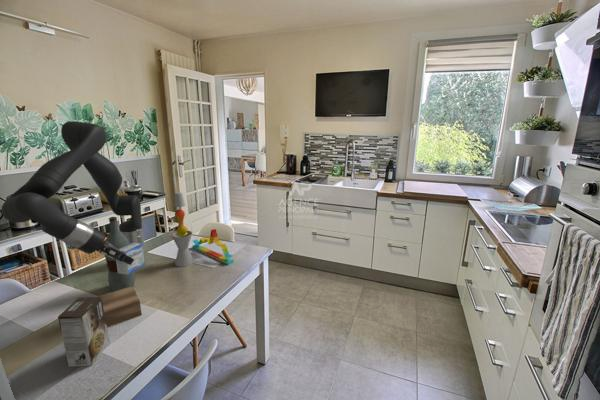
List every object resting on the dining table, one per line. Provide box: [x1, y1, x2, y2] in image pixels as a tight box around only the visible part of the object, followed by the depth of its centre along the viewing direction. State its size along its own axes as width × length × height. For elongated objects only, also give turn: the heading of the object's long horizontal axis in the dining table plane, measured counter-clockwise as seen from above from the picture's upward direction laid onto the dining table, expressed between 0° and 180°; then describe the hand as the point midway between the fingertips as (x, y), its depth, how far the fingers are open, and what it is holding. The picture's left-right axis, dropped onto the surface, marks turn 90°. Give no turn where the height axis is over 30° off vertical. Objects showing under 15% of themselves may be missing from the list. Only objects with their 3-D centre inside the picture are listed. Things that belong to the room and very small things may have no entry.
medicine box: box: [116, 243, 145, 275], centre depth 102 cm, size 8×4×9 cm, turn 167°
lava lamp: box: [171, 191, 195, 268], centre depth 135 cm, size 9×9×35 cm
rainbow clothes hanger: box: [192, 228, 234, 266], centre depth 146 cm, size 30×3×15 cm, turn 52°
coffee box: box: [57, 296, 110, 368], centre depth 81 cm, size 9×6×16 cm
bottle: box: [104, 216, 136, 292], centre depth 114 cm, size 9×9×30 cm
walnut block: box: [96, 286, 143, 328], centre depth 101 cm, size 12×12×6 cm
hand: (127, 259), depth 101 cm, fingers closed on medicine box, 5 cm apart
